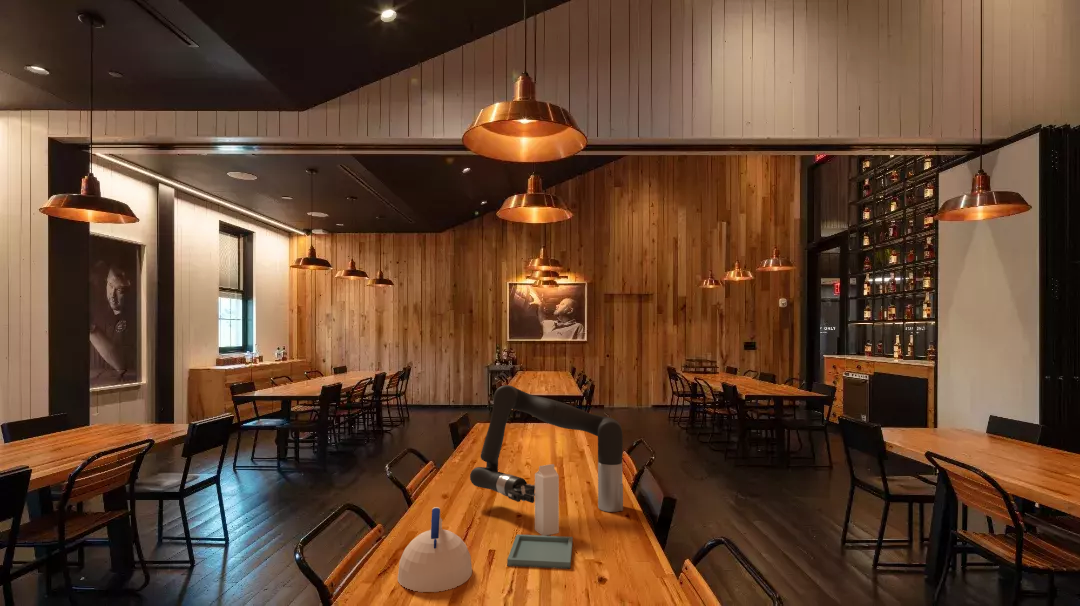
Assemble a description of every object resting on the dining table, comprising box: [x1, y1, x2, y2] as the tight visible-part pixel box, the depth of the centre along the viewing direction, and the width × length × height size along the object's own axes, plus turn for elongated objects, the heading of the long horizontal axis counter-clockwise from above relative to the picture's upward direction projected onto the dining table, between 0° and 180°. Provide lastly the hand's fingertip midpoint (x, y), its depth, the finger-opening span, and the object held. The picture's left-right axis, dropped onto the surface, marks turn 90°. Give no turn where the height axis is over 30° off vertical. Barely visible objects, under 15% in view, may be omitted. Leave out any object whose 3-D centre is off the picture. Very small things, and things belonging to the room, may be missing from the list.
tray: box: [506, 534, 574, 570], centre depth 155 cm, size 18×18×2 cm
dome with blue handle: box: [397, 506, 473, 593], centre depth 142 cm, size 20×21×18 cm
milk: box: [534, 463, 560, 536], centre depth 172 cm, size 6×6×22 cm
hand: (542, 496), depth 174 cm, fingers open, 8 cm apart
